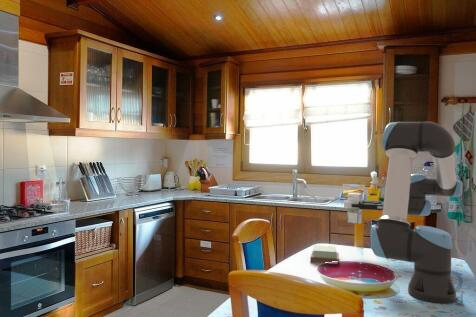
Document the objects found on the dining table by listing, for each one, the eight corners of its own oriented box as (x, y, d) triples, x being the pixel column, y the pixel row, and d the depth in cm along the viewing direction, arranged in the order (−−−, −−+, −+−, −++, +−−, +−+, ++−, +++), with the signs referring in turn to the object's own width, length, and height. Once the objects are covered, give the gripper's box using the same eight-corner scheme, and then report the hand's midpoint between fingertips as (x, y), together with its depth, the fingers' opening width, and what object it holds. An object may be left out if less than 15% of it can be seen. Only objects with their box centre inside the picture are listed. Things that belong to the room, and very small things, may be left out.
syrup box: (361, 222, 195) (362, 192, 195) (358, 224, 190) (359, 193, 190) (350, 221, 199) (351, 192, 198) (346, 223, 194) (347, 193, 193)
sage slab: (336, 258, 176) (336, 252, 176) (313, 257, 178) (313, 250, 178) (335, 253, 186) (335, 246, 186) (313, 251, 188) (313, 245, 188)
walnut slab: (338, 266, 175) (338, 259, 175) (310, 263, 178) (310, 257, 178) (338, 259, 187) (338, 252, 187) (312, 256, 190) (312, 250, 190)
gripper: (396, 217, 180) (344, 214, 186) (391, 211, 200) (343, 208, 205) (397, 201, 180) (344, 198, 186) (392, 196, 199) (344, 193, 205)
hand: (344, 203), depth 196 cm, fingers closed on syrup box, 7 cm apart
